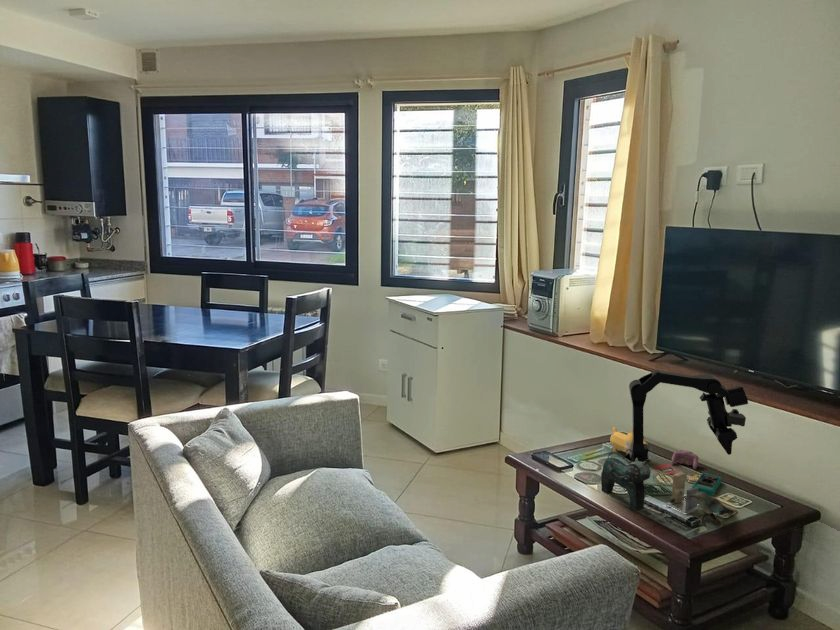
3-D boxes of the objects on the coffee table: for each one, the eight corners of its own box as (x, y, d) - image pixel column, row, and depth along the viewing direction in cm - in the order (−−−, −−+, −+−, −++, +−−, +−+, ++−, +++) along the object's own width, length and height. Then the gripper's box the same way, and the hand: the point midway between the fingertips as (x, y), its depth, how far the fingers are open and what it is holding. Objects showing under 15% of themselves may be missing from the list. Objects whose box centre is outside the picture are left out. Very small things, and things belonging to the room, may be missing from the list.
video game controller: (697, 470, 257) (700, 453, 259) (696, 469, 254) (698, 452, 255) (671, 465, 263) (674, 448, 264) (670, 464, 259) (672, 447, 260)
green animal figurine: (649, 510, 221) (653, 456, 218) (635, 514, 219) (639, 459, 215) (609, 487, 239) (612, 437, 235) (595, 491, 236) (598, 440, 233)
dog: (639, 466, 258) (641, 436, 255) (603, 449, 275) (605, 421, 273) (653, 463, 261) (655, 433, 259) (617, 446, 279) (619, 418, 276)
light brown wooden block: (668, 502, 224) (670, 475, 222) (678, 498, 227) (680, 471, 225) (674, 505, 222) (676, 478, 220) (684, 501, 225) (686, 474, 223)
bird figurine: (719, 505, 224) (703, 465, 216) (744, 517, 215) (730, 476, 207) (695, 531, 220) (678, 491, 212) (720, 545, 211) (704, 504, 203)
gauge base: (666, 506, 225) (667, 484, 223) (679, 501, 228) (681, 479, 227) (684, 514, 218) (686, 492, 217) (697, 509, 222) (699, 487, 221)
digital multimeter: (721, 483, 244) (722, 476, 243) (712, 497, 232) (713, 489, 231) (701, 478, 248) (701, 471, 248) (691, 492, 236) (692, 484, 236)
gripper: (748, 413, 221) (757, 455, 223) (733, 397, 239) (742, 436, 241) (714, 419, 224) (723, 461, 225) (702, 403, 241) (711, 441, 243)
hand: (726, 449), depth 234 cm, fingers open, 9 cm apart
